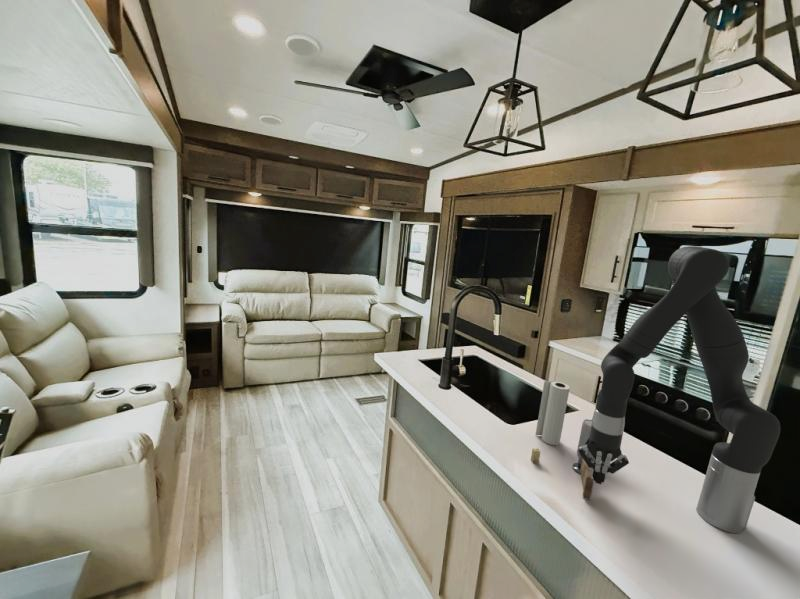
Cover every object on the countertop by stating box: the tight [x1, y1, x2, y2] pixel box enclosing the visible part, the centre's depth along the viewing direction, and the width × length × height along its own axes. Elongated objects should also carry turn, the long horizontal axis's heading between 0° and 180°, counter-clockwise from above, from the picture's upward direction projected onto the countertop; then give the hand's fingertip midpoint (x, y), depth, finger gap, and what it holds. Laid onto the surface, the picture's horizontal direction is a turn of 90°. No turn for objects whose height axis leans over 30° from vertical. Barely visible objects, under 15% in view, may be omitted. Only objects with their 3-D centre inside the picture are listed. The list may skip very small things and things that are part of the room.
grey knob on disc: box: [572, 450, 591, 475], centre depth 108 cm, size 5×5×7 cm
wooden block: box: [580, 459, 594, 501], centre depth 101 cm, size 12×2×6 cm, turn 158°
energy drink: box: [576, 418, 594, 462], centre depth 115 cm, size 5×5×12 cm
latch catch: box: [530, 448, 541, 464], centre depth 111 cm, size 2×1×4 cm
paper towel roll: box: [535, 380, 571, 446], centre depth 122 cm, size 7×6×21 cm
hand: (597, 481), depth 99 cm, fingers closed
